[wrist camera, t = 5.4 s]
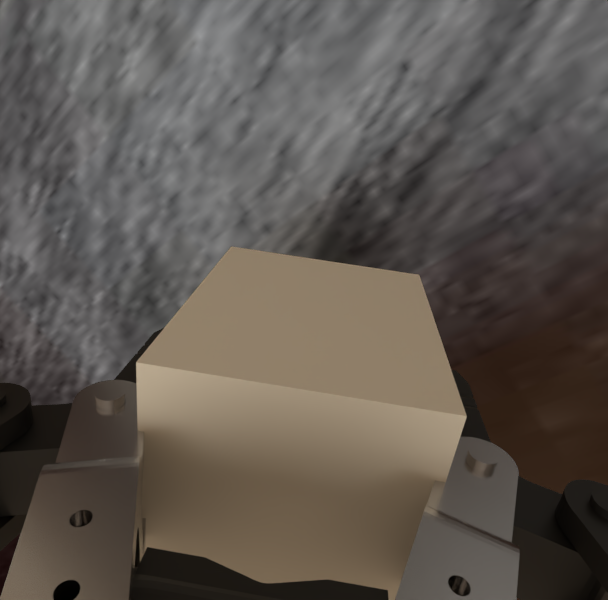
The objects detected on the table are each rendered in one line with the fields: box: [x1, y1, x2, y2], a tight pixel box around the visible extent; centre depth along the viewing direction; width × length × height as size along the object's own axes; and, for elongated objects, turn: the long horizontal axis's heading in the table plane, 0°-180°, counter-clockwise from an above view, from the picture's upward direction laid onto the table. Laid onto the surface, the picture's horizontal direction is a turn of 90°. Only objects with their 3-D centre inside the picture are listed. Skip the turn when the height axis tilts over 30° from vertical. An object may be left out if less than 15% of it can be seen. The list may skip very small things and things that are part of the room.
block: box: [136, 247, 467, 600], centre depth 11 cm, size 5×5×6 cm
